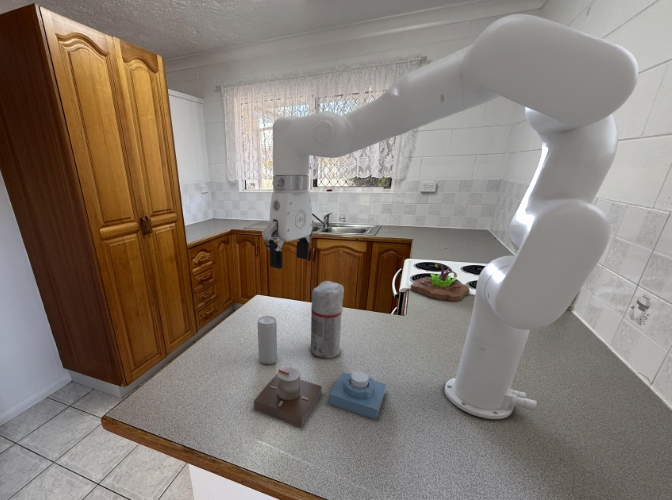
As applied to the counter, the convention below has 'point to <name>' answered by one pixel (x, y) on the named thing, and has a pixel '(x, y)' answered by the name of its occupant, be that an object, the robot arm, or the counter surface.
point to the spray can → (326, 319)
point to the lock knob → (288, 383)
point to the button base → (358, 396)
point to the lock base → (288, 402)
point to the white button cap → (359, 380)
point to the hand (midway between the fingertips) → (289, 262)
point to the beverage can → (267, 339)
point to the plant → (441, 286)
